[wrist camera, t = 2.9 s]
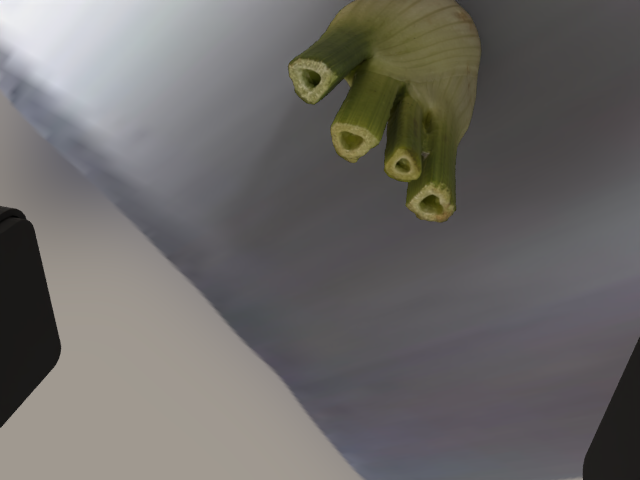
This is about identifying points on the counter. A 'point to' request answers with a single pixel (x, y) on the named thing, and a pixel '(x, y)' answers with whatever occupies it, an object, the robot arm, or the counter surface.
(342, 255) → the counter surface
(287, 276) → the counter surface
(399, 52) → the fennel bulb
